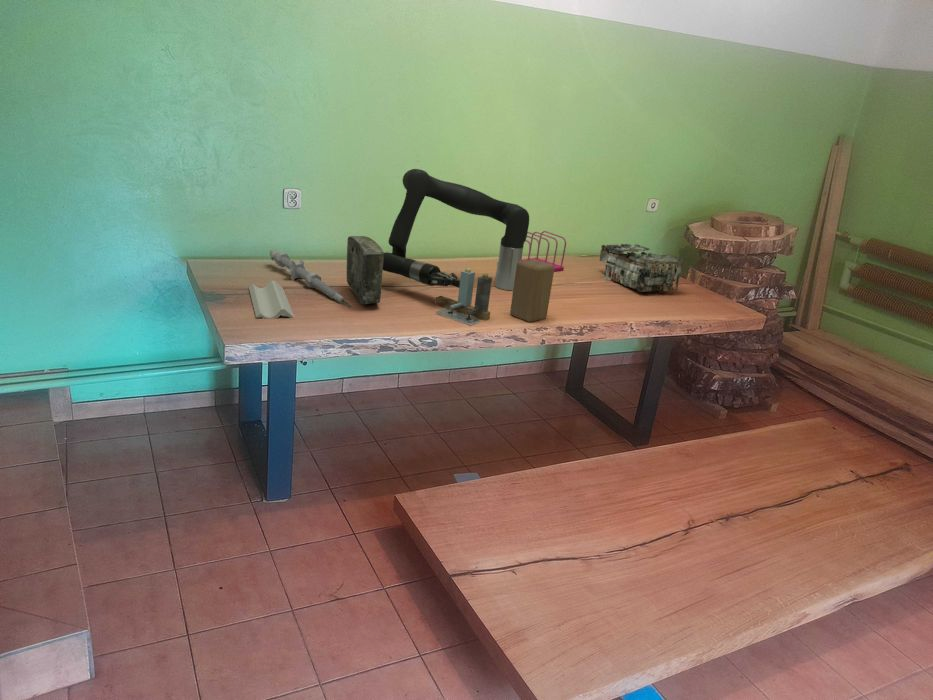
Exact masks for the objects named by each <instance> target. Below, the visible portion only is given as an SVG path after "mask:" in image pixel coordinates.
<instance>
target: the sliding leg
mask: <svg viewBox="0 0 933 700" xmlns="http://www.w3.org/2000/svg"><path fill="white" fill-rule="evenodd" d="M475 276H476V271H472V268H471V267H465V270H461V271H460V286H459V288H458V295H457V301H458V304H454V305H451V306H450V308H452V309H451V312H453V309H454V308H456V307H459V306H465V307H466V306H469V305H471V306H472V301H473V293H474V283H475Z"/></svg>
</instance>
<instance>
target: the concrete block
mask: <svg viewBox="0 0 933 700" xmlns="http://www.w3.org/2000/svg"><path fill="white" fill-rule="evenodd" d="M384 253H385V252H384V250H383V249H382V247H381V246H380V245H379V244H378V243H377V242H376V241H375V240H373V239H372V238H371V237H368V236H364V235H352V236H351V235H350V236H348V237H347V246H346V282H347V285H348V287H350V289H351V291H352V292H353V293H354V295H355V297H356V298H357V300H358V302H359V303H360V304H362V305H369V304H378V303H380V302H381V298H382V297H381V295H382V282H383V271H384V270H383V262H384Z"/></svg>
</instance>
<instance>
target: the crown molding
mask: <svg viewBox="0 0 933 700" xmlns="http://www.w3.org/2000/svg"><path fill="white" fill-rule="evenodd" d="M283 289H284V288H283V287H282V286H281V285H280V284H279V283H278V282H277V281H276V280H270V281H269V282H268V283H267V284H266V285H265V286H264V287H259V286H257V285H255V284H254V283H251V285H249V287H248V290H249V293H250V294H249V295H250V299H251V303H252V306H253V309H254V314H255V318H256V319H257V318H262V319H277V318H280V317H288V318H289V319H295V315H294V312H293V310H292V308H291V305H290V302H289V300H288V296H287V295H286V293H285V290H283Z"/></svg>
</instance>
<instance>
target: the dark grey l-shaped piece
mask: <svg viewBox="0 0 933 700" xmlns="http://www.w3.org/2000/svg"><path fill="white" fill-rule="evenodd" d="M492 282H493V278H492V277H490V276H489V274H488V273H486V272H485V273H482V275H481V276H478V277H477V283H476V291H475V292H476V293H475V300H474V305H472V304H471V305H469V306H466V307H465V306H459V307H456V308H454V309H453V310H454V311H457V312H458V311H459V312H460V313H461V312H462V313H463V314H464V313H465V314H466V315H467V314H468V318H470V315H471V317H473V316H474V318H476V317H477V319H480V320H481V321H482V320H483V321H486V320H489V319H490V318H491V311H489V305H490V298H491V297H490V296H491V289H492ZM454 304H458V300H455V299H454V298H453V299H451V298H449V297H446V296H443V295H440V296H439V295H438V296H436V297H435V305H438V306H441V307H444V308H448V309H452V308H450V306H451V305H454Z"/></svg>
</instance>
